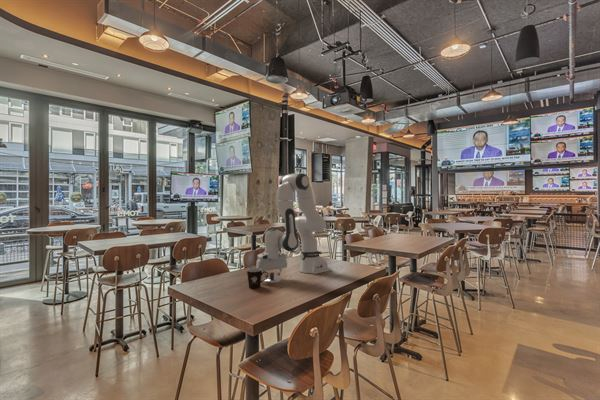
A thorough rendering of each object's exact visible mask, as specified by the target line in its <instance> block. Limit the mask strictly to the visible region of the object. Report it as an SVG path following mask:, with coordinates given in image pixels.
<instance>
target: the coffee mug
mask: <svg viewBox="0 0 600 400" xmlns="http://www.w3.org/2000/svg"><path fill="white" fill-rule="evenodd" d="M246 273H247V275H246V276H247V282H248V288H249V289H251V290H256V289H259V288H260V289H261V283H262V282H264V280H265V279H266V278H267V277H269V272H267V271H265V272H262V269H259V268H256V267H253V268H248V269H246ZM263 273H265V274H266V275H267V277H266V278H265V279H264V280H262V276H263Z"/></svg>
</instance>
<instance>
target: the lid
mask: <svg viewBox="0 0 600 400" xmlns="http://www.w3.org/2000/svg"><path fill="white" fill-rule="evenodd" d="M264 279H265V278H264V277H263V278H261V281H262V280H264ZM281 281H282V278H281V277H279V276H275V272H273V271H271V272H269V276H268V277H267V278H266V279H265V280H264V281H263V282H264V283H268V284H269V283H270V284H271V283H272V284H273V283H279V282H281Z"/></svg>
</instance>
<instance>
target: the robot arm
mask: <svg viewBox="0 0 600 400" xmlns="http://www.w3.org/2000/svg"><path fill="white" fill-rule="evenodd" d="M278 181H279V182H278V184H279V185H278V186H277V191H276V200H275V203H276V204H275V205H276V210H277V212H278V214H280V215H281V217H282V218H283V220H284V228H285V229H284V230H285V232H283V231H280V230H279V229H277V228H270V229H267V230H266V231H265V233H264V251H262V252H261V253H259V254H257V259H256V262H255V263H256V264H255V268H259V269H262V272H267V271H271V270H272V271H273V270H278V271H277V272H276V277H279V276H281V272H282V271H283V269H286V268H287V267H288V260H287V254H286V253H283V252H282V253H280V252H279V251H280V248H281V249H283V250H285V251H287V252H294V251H295V250H297V248H299V243H301V244H300V245H301V250H300V259H301V261H300V267H299V270H298V271H299V272H300V273H303V274H314V275H315V274H321V273H326V272H331V271H332V269H331V268H330V267H328V262H327V260H326V259H324V258H323V257H321V256H320V255H322V254H323V251H320V250H318V239H317V238H316V237H315V236H314V235H313V233H317V232H319V233H320V232H323V231H324V230H325V228H326V225H327V224H326V219H324V217H322V216H321V215H320V214H319V212H318V210H317V207H316V205H315V201H314V195H313V191H312V187H311V184H310V179H309V177H308V175H307V174H306V173H302V172H301V173H296V172H295V173H290V174H283V175H282V176H281V177H280V178H279V180H278ZM294 191H296V192H295V193H296V200H297V205H298V206H297V207H298V210H299V211H300V212H302V214H303V215H297V216H296V214H295V209H294V208H295V207H294ZM295 216H296V217H295ZM296 230H297V231H296ZM297 232H298V234H299V237H300V241H301V242H300V241H299V238H298V236H297ZM262 276H263V278H266V277H267V273H263V274H262Z"/></svg>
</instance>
